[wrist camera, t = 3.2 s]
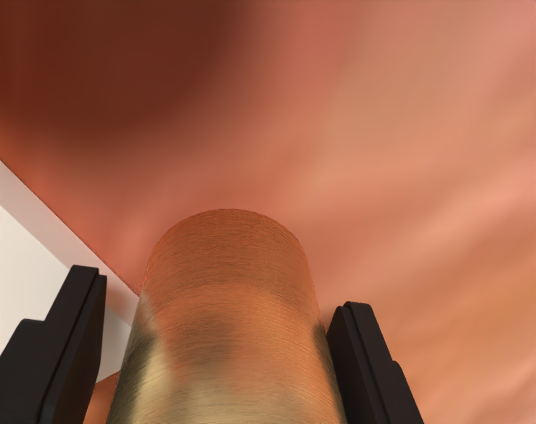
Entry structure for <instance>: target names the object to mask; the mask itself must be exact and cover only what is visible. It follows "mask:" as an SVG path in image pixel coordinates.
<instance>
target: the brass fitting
mask: <svg viewBox="0 0 536 424" xmlns="http://www.w3.org/2000/svg"><path fill="white" fill-rule="evenodd" d="M106 424H348V423H347V419H346V415H345V411H344V407H343V403H342V399H341V395H340V391H339V387H338V383H337V379H336V375H335V370H334V366H333V362H332V358H331V354H330V350H329V346H328V342H327V338H326V334H325V330H324V326H323V322H322V318H321V314H320V310H319V306H318V302H317V298H316V294H315V290H314V286H313V282H312V278H311V274H310V270H309V266H308V262H307V258H306V255H305V253H304V250H303V248H302V247H301V245H300V243H299V242H298V240H297V239H296V238H295V237H294V236H293V234H292V233H291V232H290V231H288V230H287V229H286V228H285V227H284V226H282V225H281V224H279V223H278V222H276V221H275V220H273V219H271V218H269V217H267V216H264V215H261V214H258V213H256V212H251V211H247V210H239V209H219V210H211V211H207V212H203V213H199V214H196V215H194V216H191V217H189V218H187V219H185V220H183V221H181V222H179V223H178V224H177V225H175V226H174V227H172V228H171V229H170V230H169V231H168V232H167V233H166V234H165V235H164V236H163V237H162V238H161V239H160V241H159V242H158V243H157V245H156V246H155V248H154V250H153V252H152V254H151V257H150V260H149V263H148V267H147V271H146V274H145V278H144V282H143V286H142V289H141V293H140V297H139V301H138V305H137V308H136V312H135V316H134V320H133V323H132V327H131V331H130V335H129V338H128V342H127V346H126V350H125V353H124V357H123V361H122V365H121V368H120V372H119V376H118V380H117V383H116V387H115V391H114V395H113V398H112V402H111V406H110V410H109V413H108V417H107V421H106Z"/></svg>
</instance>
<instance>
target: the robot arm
mask: <svg viewBox="0 0 536 424" xmlns="http://www.w3.org/2000/svg"><path fill="white" fill-rule="evenodd" d="M106 289H107V275H100V274H99V268H96V267H89V266H81V265H72V267H71V269H70V271H69V273H68V275H67V276H66V278H65V280H64V282H63V284H62V286H61V288H60V290H59V292H58V294H57V296H56V298H55V300H54V302H53V304H52V306H51V308H50V310H49V312H48V314H47V316H46V318H45V320H44V321H43V320H34V319H25V318H24V319H23V320H21V321H20V323H19V324H18V326H17V327H16V329H15V331H14V333H13V334H12V336H11V338H10V340H9V341H8V343H7V345H6V347H5V348H4V350H3V352H2V353H1V355H0V424H83V421H84V418H85V415H86V412H87V409H88V405H89V402H90V399H91V396H92V393H93V390H94V386H95V383H96V380H97V377H98V373H99V369H100V363H101V353H102V340H103V327H104V314H105V302H106ZM326 338H327V342H328V346H329V350H330V354H331V358H332V362H333V366H334V370H335V375H336V379H337V383H338V387H339V391H340V395H341V399H342V403H343V407H344V411H345V415H346V419H347V423H348V424H424V422H423V420H422V417H421V415H420V412H419V410H418V407H417V405H416V403H415V400H414V398H413V395H412V393H411V390H410V388H409V386H408V383H407V381H406V378H405V376H404V373H403V371H402V369H401V367H400V365H399V364H398V363H397V362H396V361H393V360H392V358H391V355H390V353H389V350H388V348H387V345H386V343H385V340H384V338H383V335H382V333H381V330H380V328H379V325H378V323H377V320H376V318H375V315H374V313H373V310H372V308H371V306H370V305H369V304H365V303H357V302H350V301H347V302H345V304H344V305H343V306H338V307H337V308H336V310H335V313H334V316H333V318H332V321H331V324H330V327H329V330H328V332H327V335H326Z"/></svg>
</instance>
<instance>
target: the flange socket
mask: <svg viewBox="0 0 536 424" xmlns="http://www.w3.org/2000/svg"><path fill="white" fill-rule="evenodd" d="M72 265H81V266H89V267H96V268H99V274H100V275H107V289H106V302H105V314H104V327H103V340H102V353H101V363H100V369H99V373H98V377H97V380H96V383H98V382H99V381H101V380H103V379H105V378H107V377H108V376H110V375H112V374H114V373H116V372H117V371H119V370H120V368H121V365H122V361H123V357H124V353H125V350H126V346H127V342H128V338H129V335H130V331H131V327H132V323H133V320H134V316H135V312H136V308H137V305H138V301H139V297H138V296H137V295H136V294H135V293H134V292H133V291H132V290H131V289H130V288H129V287H128V286H127V285H126V284H125V283H124V282H123V281H122V280H121V279H120V278H119V277H118V276H117V275H115V274H114V273H113V272H112V271H111V270H110V269H109V268H108V267H107V266H106V265H105V264H104V263H103V262H102V261H101V260H100V259H99V258H98V257H97V256H96V255H95V254H94V253H93V252H92V251H91V250H90V249H89V248H88V247H87V246H86V245H85V244H84V243H83V242H82V241H81V240H80V239H79V238H78V237H77V236H76V235H75V234H74V233H73V232H72V231H71V230H70V229H69V228H68V227H67V226H66V225H65V224H64V223H63V222H62V221H61V220H60V219H59V218H58V217H57V216H56V215H55V214H54V213H53V212H52V211H51V210H50V209H49V208H48V207H47V206H46V205H45V204H44V203H43V202H42V201H41V200H40V199H39V198H38V197H37V196H36V195H35V194H34V193H33V192H32V191H31V190H30V189H29V188H28V187H27V186H26V185H24V184H23V183H22V182H21V181H20V180H19V179H18V178H17V177H16V176H15V175H14V174H13V173H12V172H11V171H10V170H9V169H8V168H7V167H6V166H5V165H4V164H3V163H2V162H1V161H0V355H1V353H2V352H3V350H4V348H5V347H6V345H7V343H8V341H9V340H10V338H11V336H12V334H13V333H14V331H15V329H16V327H17V326H18V324H19V323H20V321H21V320H23V319H24V318H25V319H34V320H43V321H44V320H45V318H46V316H47V314H48V312H49V310H50V308H51V306H52V304H53V302H54V300H55V298H56V296H57V294H58V292H59V290H60V288H61V286H62V284H63V282H64V280H65V278H66V276H67V275H68V273H69V271H70V269H71V267H72ZM96 383H95V384H96Z"/></svg>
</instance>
